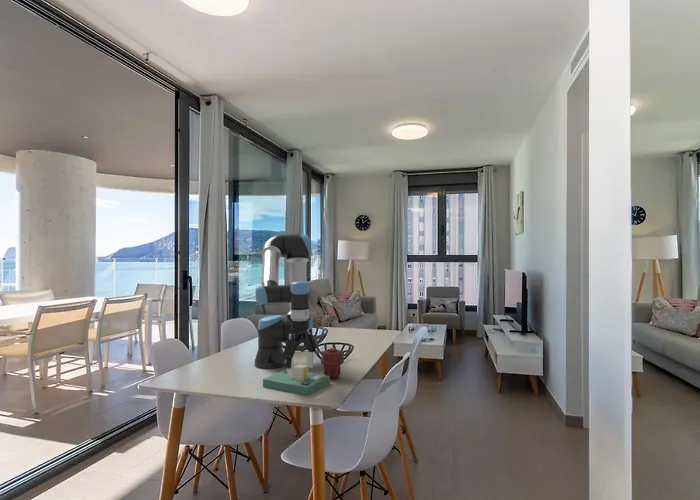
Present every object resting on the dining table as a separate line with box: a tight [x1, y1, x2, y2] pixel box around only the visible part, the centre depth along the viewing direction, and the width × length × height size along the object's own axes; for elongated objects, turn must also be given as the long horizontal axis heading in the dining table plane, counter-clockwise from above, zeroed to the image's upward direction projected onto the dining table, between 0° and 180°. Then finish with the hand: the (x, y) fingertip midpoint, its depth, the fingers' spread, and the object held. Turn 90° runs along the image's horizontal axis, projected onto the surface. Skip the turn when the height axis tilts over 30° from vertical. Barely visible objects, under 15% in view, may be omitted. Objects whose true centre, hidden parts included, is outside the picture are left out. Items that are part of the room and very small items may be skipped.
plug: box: [293, 363, 309, 381], centre depth 162 cm, size 5×4×8 cm
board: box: [262, 368, 331, 396], centre depth 163 cm, size 22×16×4 cm
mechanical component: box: [320, 347, 345, 380], centre depth 172 cm, size 12×10×10 cm
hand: (300, 371), depth 162 cm, fingers open, 13 cm apart
